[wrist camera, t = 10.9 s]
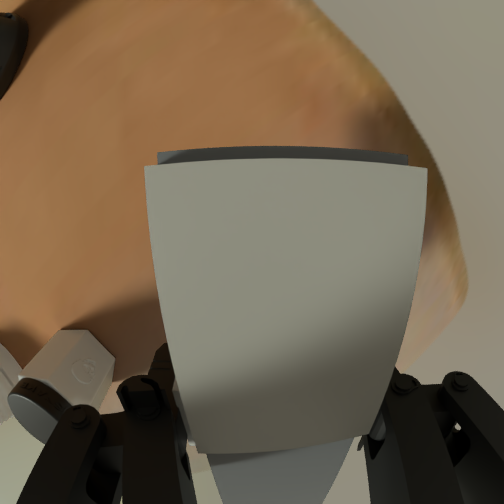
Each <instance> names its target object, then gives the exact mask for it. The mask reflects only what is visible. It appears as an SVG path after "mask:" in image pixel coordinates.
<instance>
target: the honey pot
mask: <svg viewBox="0 0 504 504" xmlns="http://www.w3.org/2000/svg"><path fill="white" fill-rule="evenodd" d="M21 371H22V368H21V367H20V365H19V364H18V363H17V361H16V360H15V358H14V357H13V356H12V355H11V354H10V352H9V351H8V350H7V349H6V348H5V347H4V346H3V345H2V344H1V343H0V425H1V424H2V423H3V422H4V421H7V420H8V419H9V418H13V417H14V415H13V413H12V411H11V409H10V407H9V405H8V400H7V398H8V394H9V393H10V392H11V390H12V389H13V388H14V387H15V385H16V384H17V383H18V382H19V378H18V375H19V373H20V372H21Z"/></svg>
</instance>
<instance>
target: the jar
mask: <svg viewBox="0 0 504 504" xmlns="http://www.w3.org/2000/svg"><path fill="white" fill-rule="evenodd" d="M114 365H115V357H114V356H113V355H112V354H111V353H109V352H108V351H107V350H106V349H105V347H104V346H103V345H102V344H101V343H100V342H99V341H98V340H97V339H96V338H95V337H94V336H93V335H92V334H91V333H90V332H89V331H88V330H59V331H58V332H57V333H56V334H55V335H54V336H53V337H52V338H51V339H50V340H49V341H48V342H47V343H46V344H45V345H44V346H43V347H42V349H41V350H40V351H39V352H38V353H37V354H36V355H35V356H34V357H33V359H32V360H31V361H30V362H29V363H28V364H27V365H26V366H25V368H24V369H23V370H22V371H21V372H20V373H19V375H18V378H19V382H18V383H17V384H16V385H15V387H14V388H13V389H12V390H11V392H10V393H9V394H8V398H7V400H8V405H9V407H10V409H11V411H12V413H13V415H14V416H15V418H16V419H17V420H18V422H19V423H20V424H21V425H22V426H23V427H24V428H25V429H26V430H27V431H28V432H29V433H30V434H31V435H33V436H34V437H35V438H36V439H38V440H39V441H41V442H42V443H44V444H46V443H47V441H48V439H49V437H50V435H51V433H52V432H53V430H54V428H55V426H56V425H57V423H58V421H59V419H60V418H61V416H62V414H63V413H64V412H65V411H66V410H67V409H68V408H70V407H72V406H74V405H79V404H87V405H90V406H92V407H94V408H95V409H96V410H97V411H98V410H99V408H100V406H101V404H102V402H103V400H104V398H105V396H106V394H107V392H108V390H109V388H110V386H111V384H112V378H113V371H114Z"/></svg>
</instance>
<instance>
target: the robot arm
mask: <svg viewBox="0 0 504 504" xmlns="http://www.w3.org/2000/svg"><path fill="white" fill-rule="evenodd" d="M27 38H28V25H27V22H26V20H25V19H23V18H22V17H20V16H18V15H16V14H14V13H0V98H1V97H2V95H3V94H4V92H5V91H6V89H7V87H8V86H9V84H10V82H11V80H12V78H13V76H14V74H15V72H16V70H17V68H18V66H19V64H20V61H21V59H22V56H23V53H24V50H25V47H26V43H27ZM116 393H117V395H118V397H119V399H120V402H121V404H122V406H123V408H124V410H125V411H123V412H119V413H112V414H102V415H100V414H99V412H98V411H97V410H96V409H95V408H94V407H92V406H90V405H87V404H79V405H74V406H72V407H70V408H68V409H67V410H66V411H65V412H64V413H63V414H62V416H61V418H60V419H59V421H58V423H57V425H56V426H55V428H54V430H53V432H52V433H51V435H50V437H49V439H48V441H47V443H46V444H45V446H44V448H43V450H42V452H41V454H40V456H39V458H38V459H37V462H36V464H35V465H34V468H33V469H32V471H31V474H30V475H29V477H28V479H27V482H26V484H25V486H24V488H23V490H22V492H21V494H20V497H19V499H18V501H17V503H16V504H120V501H121V497H122V503H123V504H197V500H196V495H195V490H194V485H193V480H192V474H191V469H190V463H189V457H188V454H187V452H186V444H187V439H188V442H189V445H190V446H196V445H195V442H194V439H193V436H192V433H191V430H190V427H189V423H188V420H187V417H186V413H185V410H184V406H183V403H182V399H181V396H180V392H179V388H178V384H177V381H176V377H175V373H174V368H173V364H172V360H171V356H170V351H169V347H168V343H164V344H163V345H162V346H161V347H160V348H159V349H158V350H157V351H156V353H155V356H154V359H153V362H152V364H151V367H150V370H149V372H148V375H137V376H132V377H130V378H128V379H126V380H124V381H123V382H122V383H121V384H120V385H119V387H118V389H117V391H116ZM457 423H458V424H459V425H460V426H461V429H460V430H457V429H455V425H456V424H457ZM363 445H364V452H365V458H366V466H367V474H368V482H369V491H370V501H371V504H504V411H503V409H502V408H501V407H500V406H499V405H498V404H497V403H496V402H495V401H494V400H493V399H492V397H491V396H490V395H489V394H488V393H487V392H486V391H485V390H484V389H483V388H482V387H481V386H480V385H479V384H478V383H477V382H476V381H475V380H474V379H473V378H472V377H471V376H470V375H468V374H466V373H463V372H458V371H454V372H450V373H448V374H447V375H445V377H444V379H443V381H442V384H431V385H421V384H420V382H419V381H418V380H417V379H416V378H414V377H413V376H410V375H406V374H400V373H399V371H398V370H397V368H396V367H394V370H393V373H392V376H391V379H390V382H389V385H388V388H387V391H386V393H385V396H384V399H383V401H382V404H381V406H380V409H379V411H378V414H377V416H376V418H375V421H374V423H373V425H372V428H371V430H370V432H369V434H366V435H362V437H361V440H360V442H359V444H358V449H357V451H359V450H361V448H362V446H363Z"/></svg>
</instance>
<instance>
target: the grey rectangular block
mask: <svg viewBox="0 0 504 504" xmlns="http://www.w3.org/2000/svg"><path fill="white" fill-rule="evenodd" d="M157 158H158V165H152V166H144V169H145V186H146V200H147V211H148V222H149V231H150V240H151V248H152V256H153V263H154V270H155V277H156V283H157V290H158V296H159V301H160V307H161V312H162V318H163V323H164V328H165V333H166V338H167V342H168V347H169V351H170V356H171V360H172V364H173V368H174V373H175V377H176V381H177V384H178V388H179V392H180V396H181V399H182V403H183V406H184V410H185V413H186V417H187V420H188V423H189V427H190V430H191V433H192V436H193V439H194V442H195V445H196V448H197V451H198V453H205V454H207V458H208V461H209V464H210V467H211V470H212V473H213V476H214V479H215V482H216V485H217V488H218V491H219V494H220V496H221V499H222V502H223V504H322V503H323V501H324V499H325V497H326V495H327V494H328V492H329V490H330V488H331V486H332V484H333V482H334V480H335V478H336V476H337V474H338V472H339V470H340V468H341V466H342V464H343V462H344V459H345V457H346V455H347V453H348V451H349V448H350V446H351V444H352V441H353V439H354V437H358V436H362V435H366V434H369V432H370V430H371V428H372V425H373V423H374V421H375V418H376V416H377V414H378V411H379V409H380V406H381V404H382V401H383V399H384V396H385V393H386V391H387V388H388V385H389V382H390V379H391V376H392V373H393V370H394V367H395V364H396V361H397V358H398V355H399V351H400V348H401V345H402V341H403V337H404V334H405V330H406V326H407V322H408V318H409V314H410V310H411V305H412V300H413V296H414V291H415V286H416V280H417V275H418V269H419V263H420V256H421V249H422V241H423V233H424V223H425V211H426V196H427V168H421V167H414V166H408V155H403V154H396V153H387V152H379V151H369V150H357V149H344V148H328V147H304V146H243V147H219V148H202V149H189V150H178V151H168V152H158V153H157Z"/></svg>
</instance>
